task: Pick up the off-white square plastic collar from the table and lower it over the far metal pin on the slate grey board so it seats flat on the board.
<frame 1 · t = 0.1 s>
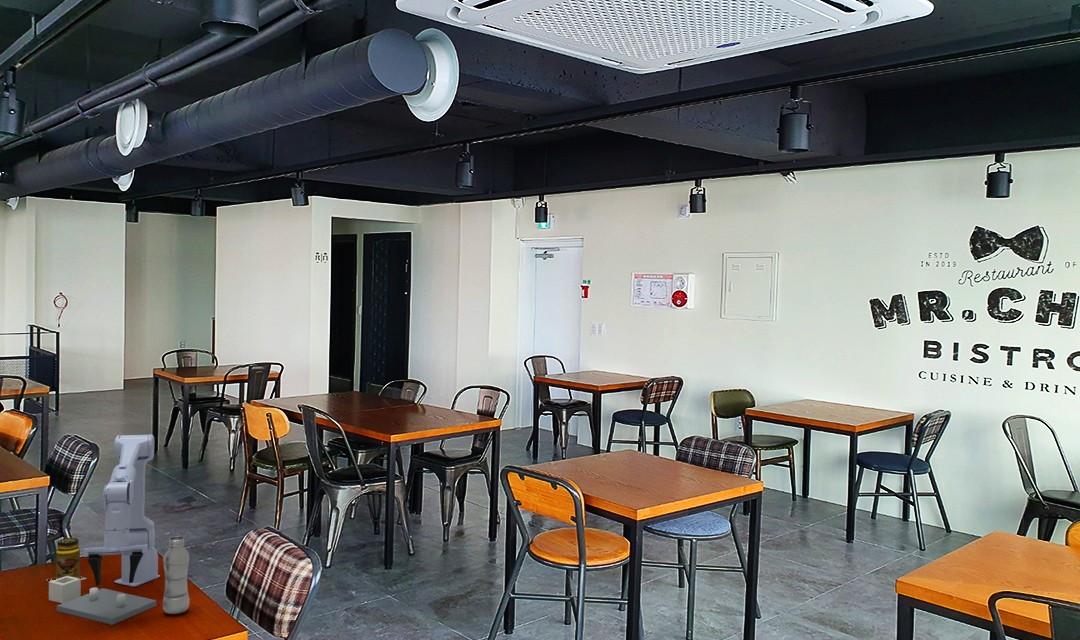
hand: (114, 583, 210), 11 cm above the table, tool pointing down, fingers open, 7 cm apart
collar: (64, 598, 226), on the table
pin board: (107, 608, 220), on the table
condiment: (66, 580, 240), on the table
plastic bottle: (175, 613, 219), on the table
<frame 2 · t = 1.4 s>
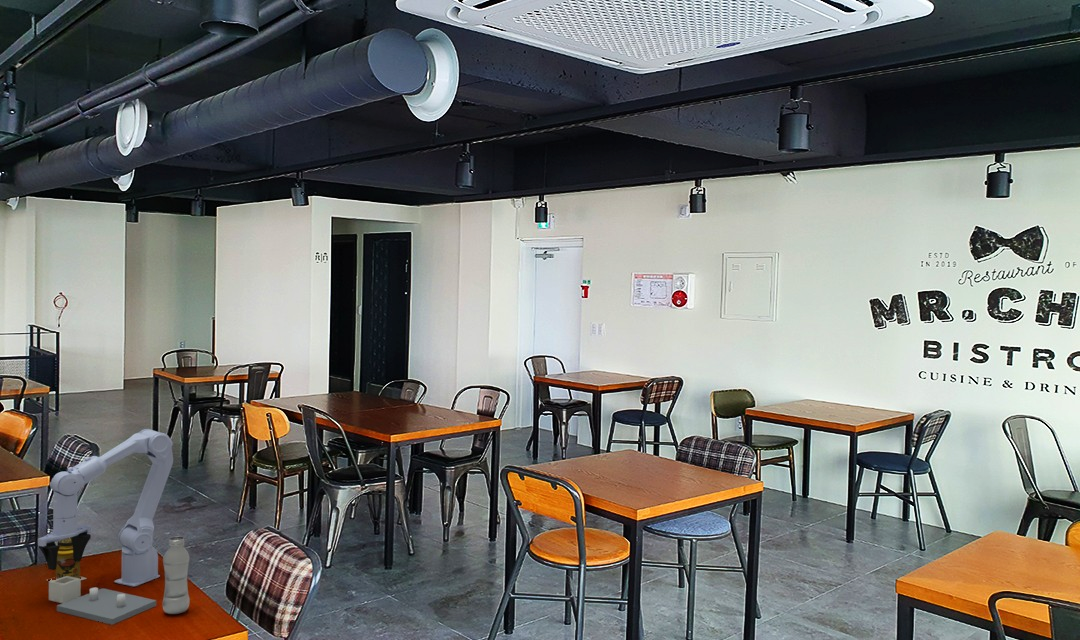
hand: (65, 564, 226), 9 cm above the table, tool pointing down, fingers open, 7 cm apart
nothing on the table moved.
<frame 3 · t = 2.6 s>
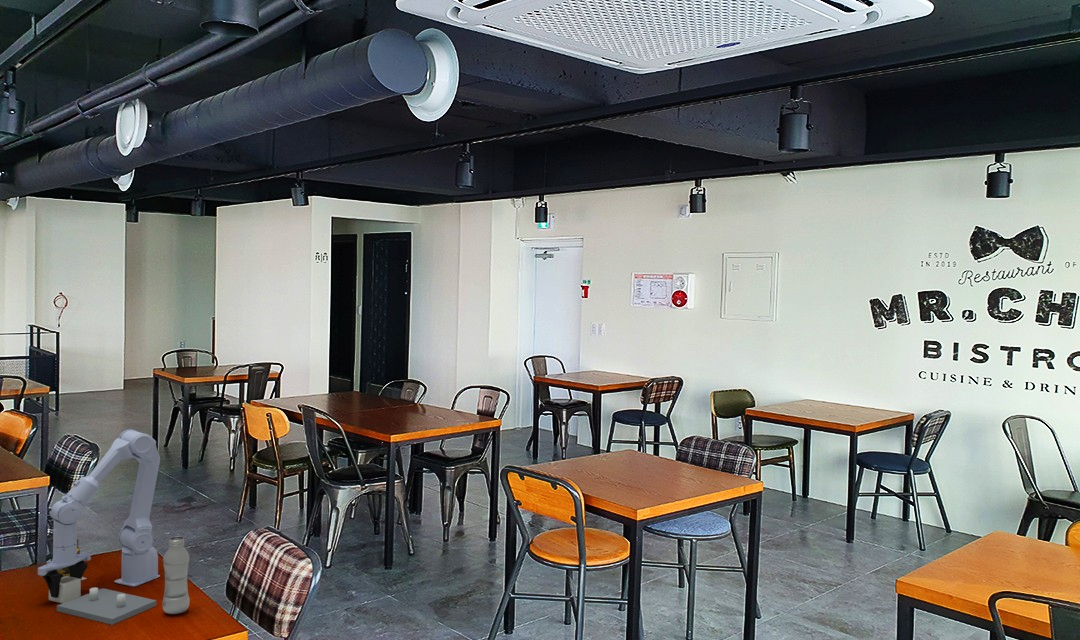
hand: (64, 593, 226), 1 cm above the table, tool pointing down, fingers closed on collar, 5 cm apart
collar: (64, 598, 226), on the table, touching gripper
everything else where it was.
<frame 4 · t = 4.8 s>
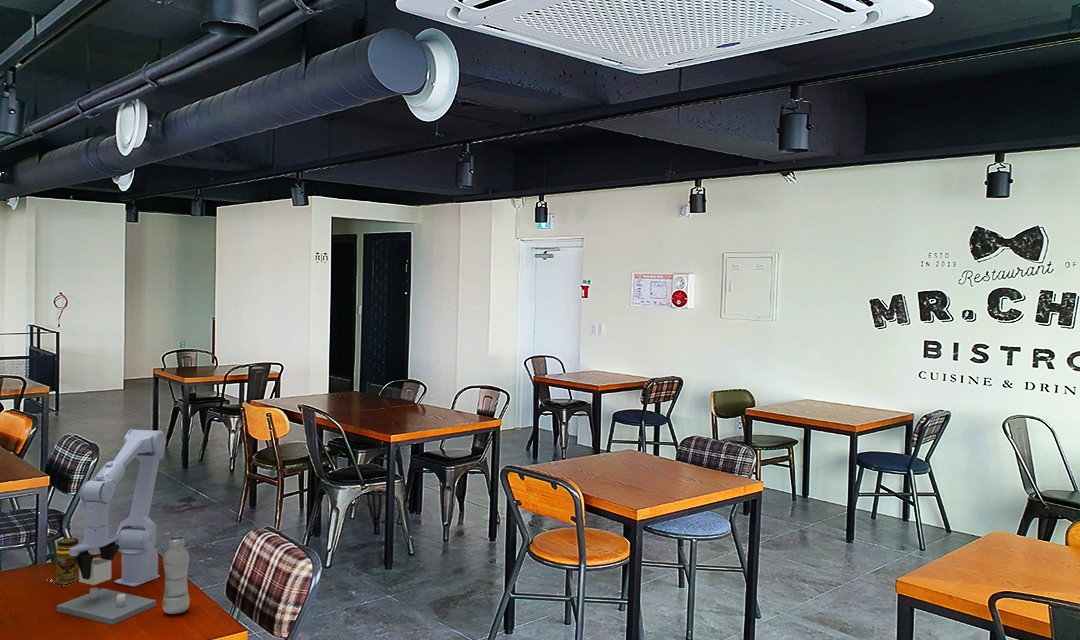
hand: (96, 575, 221), 8 cm above the table, tool pointing down, fingers closed on collar, 5 cm apart
collar: (95, 580, 221), point 7 cm above the table, touching gripper
everything else where it was.
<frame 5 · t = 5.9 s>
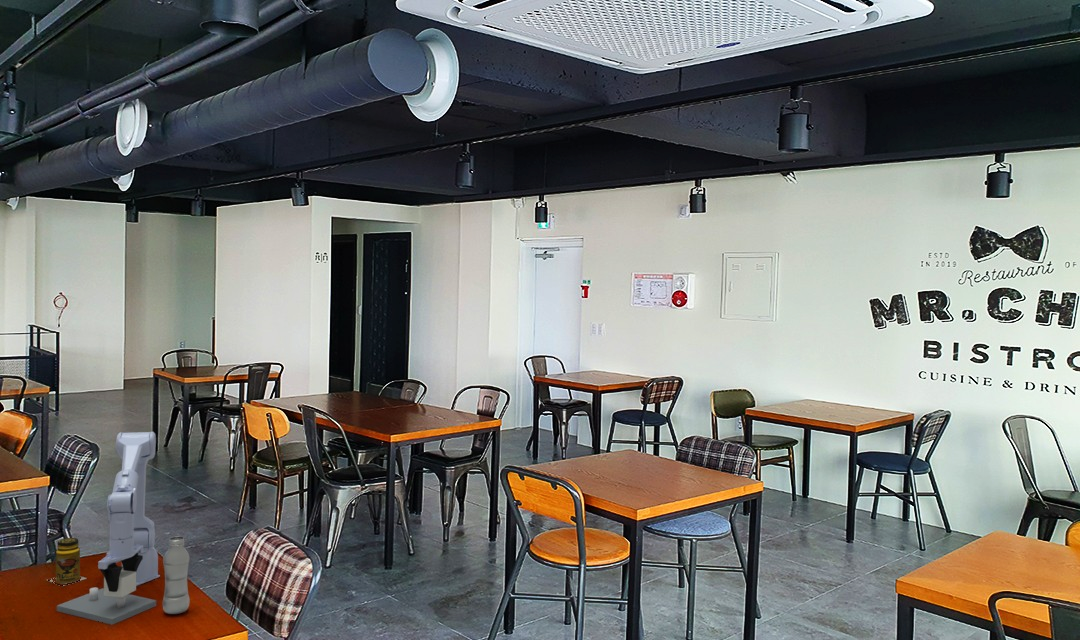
hand: (121, 587, 218), 7 cm above the table, tool pointing down, fingers closed on collar, 5 cm apart
collar: (120, 592, 218), point 5 cm above the table, touching gripper
everything else where it was.
when the fingers open (4 cm above the table, at t = 6.9 s): collar drops 1 cm, resting on pin board.
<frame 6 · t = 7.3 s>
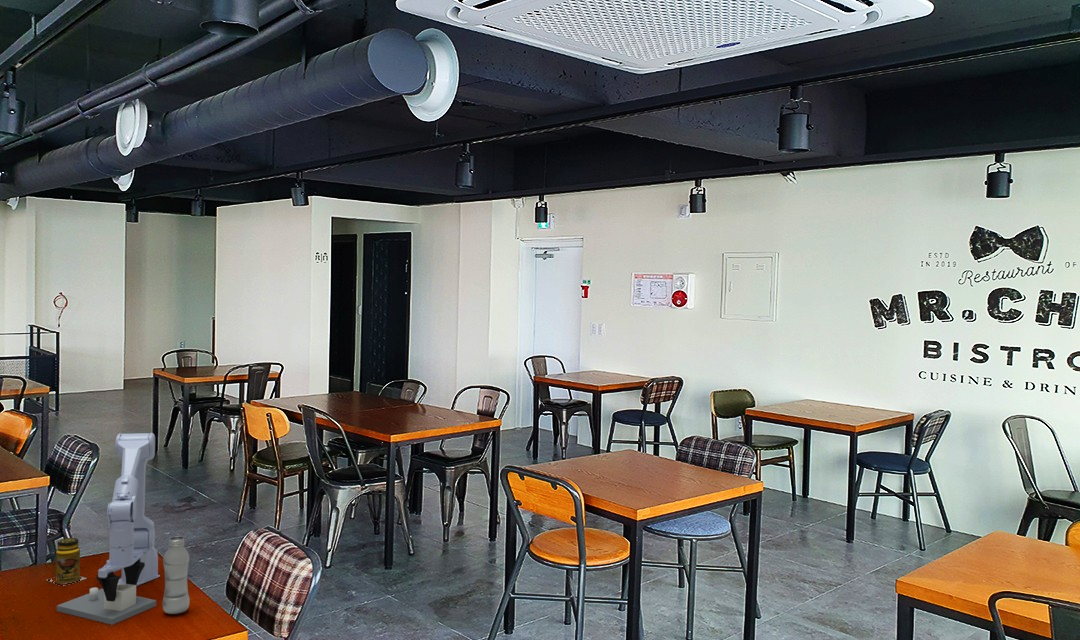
hand: (121, 595, 218), 4 cm above the table, tool pointing down, fingers open, 7 cm apart
collar: (120, 606, 218), point 1 cm above the table, touching pin board
everything else where it was.
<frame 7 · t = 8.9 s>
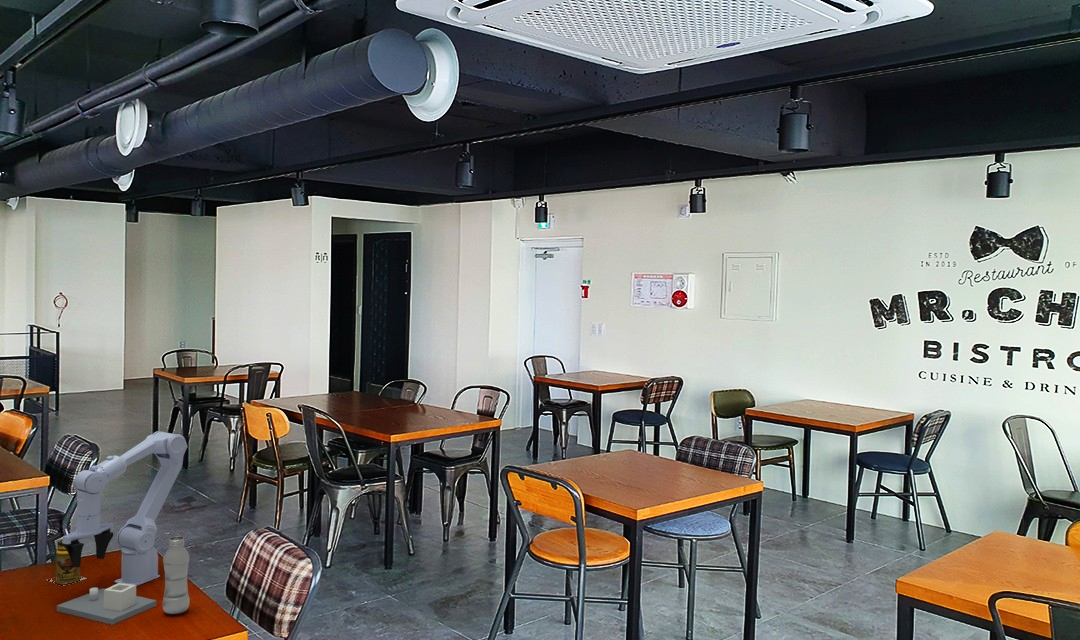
hand: (88, 562, 228), 9 cm above the table, tool pointing down, fingers open, 7 cm apart
nothing on the table moved.
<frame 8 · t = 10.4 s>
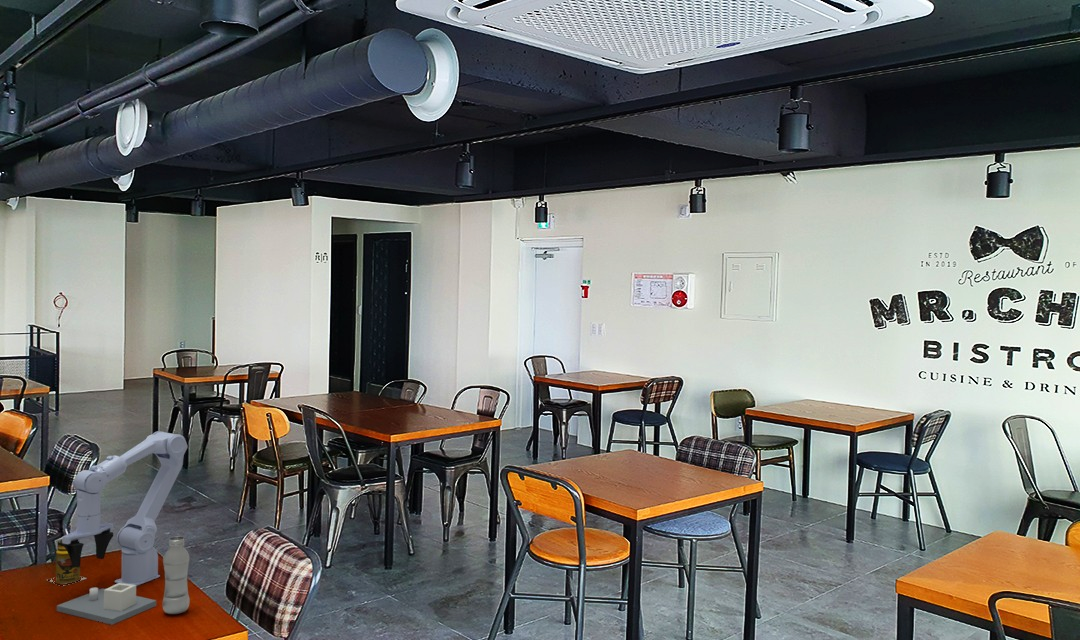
hand: (88, 562, 228), 9 cm above the table, tool pointing down, fingers open, 7 cm apart
nothing on the table moved.
at the end: collar 0.3 cm from the target spot on the pin board, point 1.5 cm above the pin board's base; collar tilted 0°; the gripper is holding nothing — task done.
